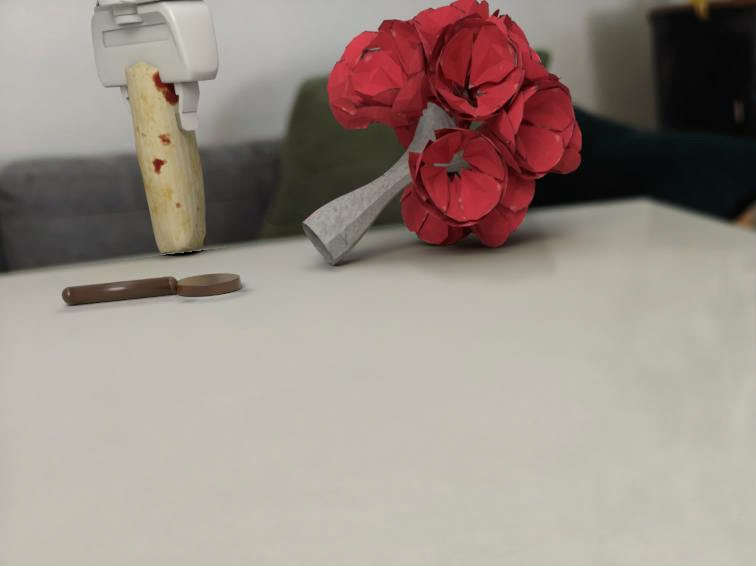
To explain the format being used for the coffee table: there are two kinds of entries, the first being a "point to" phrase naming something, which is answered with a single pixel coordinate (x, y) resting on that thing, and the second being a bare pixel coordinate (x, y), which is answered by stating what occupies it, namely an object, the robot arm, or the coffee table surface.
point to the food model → (167, 162)
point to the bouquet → (449, 127)
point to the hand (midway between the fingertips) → (166, 130)
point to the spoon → (152, 288)
